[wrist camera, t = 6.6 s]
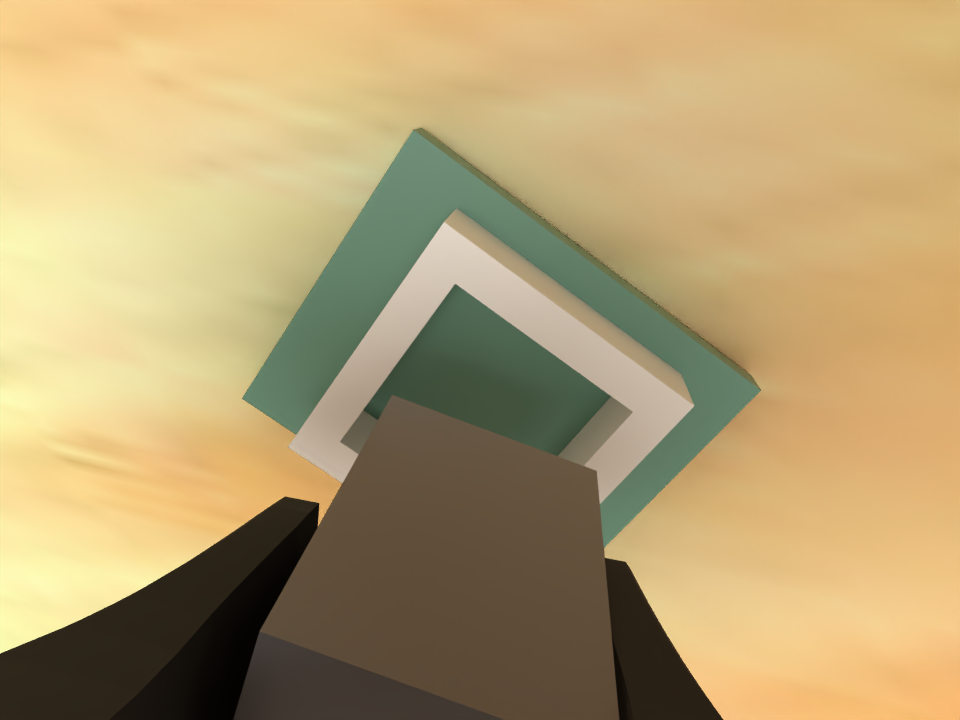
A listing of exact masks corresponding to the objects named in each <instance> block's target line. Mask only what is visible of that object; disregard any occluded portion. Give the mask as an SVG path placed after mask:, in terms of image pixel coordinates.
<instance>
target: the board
mask: <svg viewBox="0 0 960 720" xmlns="http://www.w3.org/2000/svg"><path fill="white" fill-rule="evenodd" d="M456 208H458V209H459V210H460V211H462V212H463V213H464V214H466V215H467V216H468V217H470V218H471V219H472V220H474V221H475V222H476V223H478V224H479V225H480V226H482V227H483V228H485V229H486V230H487V231H489V232H490V233H491V234H493V235H494V236H495V237H497V238H498V239H499V240H501V241H502V242H503V243H505V244H506V245H508V246H509V247H510V248H512V249H513V250H514V251H516V252H517V253H518V254H520V255H521V256H522V257H524V258H525V259H526V260H528V261H529V262H531V263H532V264H533V265H535V266H536V267H537V268H539V269H540V270H541V271H543V272H544V273H545V274H547V275H548V276H549V277H551V278H552V279H554V280H555V281H556V282H558V283H559V284H560V285H562V286H563V287H564V288H566V289H567V290H568V291H570V292H571V293H572V294H574V295H575V296H577V297H578V298H579V299H581V300H582V301H583V302H585V303H586V304H587V305H589V306H590V307H591V308H593V309H594V310H595V311H597V312H598V313H600V314H601V315H602V316H604V317H605V318H606V319H608V320H609V321H610V322H612V323H613V324H614V325H616V326H617V327H618V328H620V329H621V330H622V331H624V332H625V333H627V334H628V335H629V336H631V337H632V338H633V339H635V340H636V341H637V342H639V343H640V344H641V345H643V346H644V347H645V348H647V349H648V350H650V351H651V352H652V353H654V354H655V355H656V356H658V357H659V358H660V359H662V360H663V361H664V362H666V363H667V364H668V365H670V366H671V367H673V368H674V369H675V370H677V371H678V372H679V373H681V375H682V377H683V380H684V382H685V384H686V387H687V389H688V392H689V394H690V396H691V399H692V401H693V404H694V407H693V408H692V409H691V410H690V411H689V412H688V413H687V414H686V415H685V416H684V417H683V418H682V419H681V420H680V421H679V422H678V424H677V425H676V426H675V427H674V428H673V429H672V430H671V431H670V432H669V433H668V434H667V435H666V436H665V437H664V438H663V439H662V440H661V441H660V442H659V443H658V444H657V445H656V446H655V447H654V449H653V450H652V451H651V452H650V453H649V454H648V455H647V456H646V457H645V458H644V459H643V460H642V461H641V462H640V463H639V464H638V465H637V466H636V467H635V468H634V469H633V470H632V471H631V472H630V473H629V475H628V476H627V477H626V478H625V479H624V480H623V481H622V482H621V483H620V484H619V485H618V486H617V487H616V488H615V489H614V490H613V491H612V492H611V493H610V494H609V495H608V496H607V497H606V498H605V499H604V501H603V502H602V503H601V504H600V512H601V523H602V534H603V545H604V547H605V546H606V545H607V544H608V543H609V542H610V541H611V540H612V539H613V538H614V537H615V536H616V535H617V534H618V533H619V532H620V531H621V530H622V529H623V528H624V527H625V526H626V525H627V524H628V523H629V522H630V521H631V520H632V519H633V518H634V517H635V516H636V515H637V514H638V513H639V512H640V511H641V510H642V509H643V508H644V507H645V506H646V505H647V504H648V503H649V502H650V501H651V500H652V499H653V498H654V497H655V496H656V495H657V494H658V493H659V492H660V491H661V490H662V489H663V488H664V487H665V486H666V485H667V484H668V483H669V482H670V481H671V480H672V479H673V478H674V477H675V476H676V475H677V474H678V473H679V472H680V471H681V470H682V469H683V468H684V467H685V466H686V465H687V464H688V463H689V462H690V461H691V460H692V459H693V458H694V457H695V456H696V455H697V454H698V453H699V452H700V451H701V450H702V449H703V448H704V447H705V446H706V445H707V444H708V443H709V442H710V441H711V440H712V439H713V438H714V437H715V436H716V435H717V434H718V433H719V432H720V431H721V430H722V429H723V428H724V427H725V426H726V425H727V424H728V423H729V422H730V421H731V420H732V419H733V418H734V417H735V416H736V415H737V414H738V413H739V412H740V411H741V410H742V409H743V408H744V407H745V406H746V405H747V404H748V403H749V402H750V401H751V400H752V399H753V398H754V397H755V396H756V395H757V394H758V393H759V392H760V391H761V389H760V388H759V386H758V385H757V383H756V382H755V380H754V379H753V377H752V376H751V375H750V374H748V373H747V372H746V371H744V370H743V369H742V368H740V367H739V366H738V365H736V364H735V363H734V362H732V361H731V360H730V359H728V358H727V357H726V356H724V355H723V354H722V353H720V352H719V351H718V350H717V349H715V348H714V347H713V346H711V345H710V344H709V343H707V342H706V341H705V340H703V339H702V338H701V337H699V336H698V335H697V334H695V333H694V332H693V331H691V330H690V329H689V328H687V327H686V326H685V325H683V324H682V323H681V322H679V321H678V320H677V319H675V318H674V317H673V316H671V315H670V314H669V313H667V312H666V311H665V310H663V309H662V308H661V307H659V306H658V305H657V304H655V303H654V302H653V301H651V300H650V299H649V298H647V297H646V296H645V295H643V294H642V293H641V292H639V291H638V290H637V289H635V288H634V287H633V286H631V285H630V284H629V283H627V282H626V281H625V280H623V279H622V278H621V277H619V276H618V275H617V274H615V273H614V272H613V271H611V270H610V269H609V268H607V267H606V266H605V265H603V264H602V263H601V262H599V261H598V260H597V259H595V258H594V257H593V256H591V255H590V254H589V253H587V252H586V251H585V250H583V249H582V248H581V247H579V246H578V245H577V244H575V243H574V242H573V241H571V240H570V239H569V238H567V237H566V236H565V235H563V234H562V233H561V232H559V231H558V230H557V229H555V228H554V227H553V226H551V225H550V224H549V223H547V222H546V221H545V220H543V219H542V218H541V217H539V216H538V215H537V214H535V213H534V212H533V211H531V210H530V209H529V208H527V207H526V206H525V205H524V204H522V203H521V202H520V201H518V200H517V199H516V198H514V197H513V196H512V195H510V194H509V193H508V192H506V191H505V190H504V189H502V188H501V187H500V186H498V185H497V184H496V183H494V182H493V181H492V180H490V179H489V178H488V177H486V176H485V175H484V174H482V173H481V172H480V171H478V170H477V169H476V168H474V167H473V166H472V165H470V164H469V163H468V162H466V161H465V160H464V159H462V158H461V157H460V156H458V155H457V154H456V153H454V152H453V151H452V150H450V149H449V148H448V147H446V146H445V145H444V144H442V143H441V142H440V141H438V140H437V139H436V138H434V137H433V136H432V135H430V134H429V133H428V132H426V131H425V130H424V129H422V128H418V129H415V130H413V131H412V133H411V134H410V136H409V138H408V139H407V141H406V142H405V144H404V145H403V147H402V149H401V150H400V152H399V153H398V155H397V156H396V158H395V160H394V161H393V163H392V164H391V166H390V167H389V169H388V171H387V172H386V174H385V175H384V177H383V178H382V180H381V182H380V183H379V185H378V186H377V188H376V189H375V191H374V192H373V194H372V196H371V197H370V199H369V200H368V202H367V203H366V205H365V207H364V208H363V210H362V211H361V213H360V214H359V216H358V218H357V219H356V221H355V222H354V224H353V225H352V227H351V229H350V230H349V232H348V233H347V235H346V236H345V238H344V240H343V241H342V243H341V244H340V246H339V247H338V249H337V251H336V252H335V254H334V255H333V257H332V258H331V260H330V261H329V263H328V265H327V266H326V268H325V269H324V271H323V272H322V274H321V276H320V277H319V279H318V280H317V282H316V283H315V285H314V287H313V288H312V290H311V291H310V293H309V294H308V296H307V298H306V299H305V301H304V302H303V304H302V305H301V307H300V309H299V310H298V312H297V313H296V315H295V316H294V318H293V319H292V321H291V323H290V324H289V326H288V327H287V329H286V330H285V332H284V334H283V335H282V337H281V338H280V340H279V341H278V343H277V345H276V346H275V348H274V349H273V351H272V352H271V354H270V356H269V357H268V359H267V360H266V362H265V363H264V365H263V367H262V368H261V370H260V371H259V373H258V374H257V376H256V378H255V379H254V381H253V382H252V384H251V385H250V387H249V388H248V390H247V392H246V393H245V395H244V396H243V398H242V399H243V400H245V401H246V402H248V403H249V404H251V405H252V406H254V407H255V408H257V409H258V410H260V411H261V412H263V413H264V414H266V415H267V416H269V417H270V418H272V419H273V420H275V421H276V422H278V423H279V424H281V425H282V426H284V427H285V428H287V429H288V430H290V431H291V432H293V433H294V434H296V435H297V433H298V432H299V430H300V429H301V427H302V426H303V425H304V423H305V422H306V420H307V419H308V417H309V416H310V414H311V413H312V412H313V410H314V409H315V407H316V406H317V404H318V403H319V401H320V400H321V399H322V397H323V396H324V394H325V393H326V391H327V390H328V388H329V387H330V386H331V384H332V383H333V381H334V380H335V378H336V377H337V376H338V374H339V373H340V371H341V370H342V368H343V367H344V365H345V364H346V363H347V361H348V360H349V358H350V357H351V355H352V354H353V352H354V351H355V350H356V348H357V347H358V345H359V344H360V342H361V341H362V339H363V338H364V337H365V335H366V334H367V332H368V331H369V329H370V328H371V326H372V325H373V324H374V322H375V321H376V319H377V318H378V316H379V315H380V314H381V312H382V311H383V309H384V308H385V306H386V305H387V303H388V302H389V301H390V299H391V298H392V296H393V295H394V293H395V292H396V290H397V289H398V288H399V286H400V285H401V283H402V282H403V280H404V279H405V277H406V276H407V275H408V273H409V272H410V270H411V269H412V267H413V266H414V264H415V263H416V262H417V260H418V259H419V257H420V256H421V254H422V253H423V252H424V250H425V249H426V247H427V246H428V244H429V243H430V241H431V240H432V239H433V237H434V236H435V234H436V233H437V231H438V230H439V228H440V227H441V226H442V224H443V223H444V221H445V220H446V219H447V218H448V217H449V216H450V215H451V214H452V213H453V211H454V210H455V209H456ZM392 395H394V396H396V397H399V398H402V399H404V400H407V401H410V402H412V403H415V404H418V405H420V406H423V407H426V408H429V409H431V410H434V411H437V412H439V413H442V414H445V415H447V416H450V417H453V418H456V419H458V420H461V421H464V422H466V423H469V424H472V425H474V426H477V427H480V428H483V429H485V430H488V431H491V432H493V433H496V434H499V435H501V436H504V437H507V438H509V439H512V440H515V441H518V442H520V443H523V444H526V445H528V446H531V447H534V448H536V449H539V450H542V451H545V452H547V453H550V454H553V455H555V456H558V455H559V454H560V453H561V452H562V451H563V450H564V449H565V447H566V446H567V445H568V444H569V443H570V442H571V441H572V440H573V438H574V437H575V436H576V435H577V434H578V433H579V432H580V431H581V430H582V428H583V427H584V426H585V425H586V424H587V423H588V422H589V421H590V419H591V418H592V417H593V416H594V415H595V414H596V413H597V412H598V411H599V409H600V408H601V407H602V406H603V405H604V404H605V403H606V402H607V401H608V399H609V398H610V397H611V396H610V395H609V394H607V393H606V392H605V391H603V390H602V389H601V388H599V387H598V386H596V385H595V384H594V383H592V382H591V381H589V380H588V379H587V378H585V377H584V376H583V375H581V374H580V373H578V372H577V371H576V370H574V369H573V368H571V367H570V366H569V365H567V364H566V363H565V362H563V361H562V360H560V359H559V358H558V357H556V356H555V355H553V354H552V353H551V352H549V351H548V350H547V349H545V348H544V347H542V346H541V345H540V344H538V343H537V342H535V341H534V340H533V339H531V338H530V337H529V336H527V335H526V334H524V333H523V332H522V331H520V330H519V329H517V328H516V327H515V326H513V325H512V324H511V323H509V322H508V321H506V320H505V319H504V318H502V317H501V316H499V315H498V314H497V313H495V312H494V311H493V310H491V309H490V308H488V307H487V306H486V305H484V304H483V303H481V302H480V301H479V300H477V299H476V298H475V297H473V296H472V295H470V294H469V293H468V292H466V291H465V290H463V289H462V288H461V287H459V286H458V285H457V284H455V285H454V286H453V287H452V289H451V290H450V291H449V293H448V294H447V295H446V297H445V298H444V300H443V301H442V302H441V304H440V305H439V306H438V308H437V309H436V311H435V312H434V313H433V315H432V316H431V317H430V319H429V320H428V322H427V323H426V324H425V326H424V327H423V328H422V330H421V331H420V333H419V334H418V335H417V337H416V338H415V339H414V341H413V342H412V344H411V345H410V346H409V348H408V349H407V350H406V352H405V353H404V354H403V356H402V357H401V359H400V360H399V361H398V363H397V364H396V365H395V367H394V368H393V370H392V371H391V372H390V374H389V375H388V376H387V378H386V379H385V381H384V382H383V383H382V385H381V386H380V387H379V389H378V390H377V392H376V393H375V394H374V396H373V397H372V398H371V400H370V401H369V403H368V404H367V405H366V407H365V408H364V409H363V410H364V411H365V412H367V413H368V414H369V415H371V416H372V417H374V418H375V419H377V420H378V419H379V417H380V416H381V414H382V412H383V410H384V408H385V407H386V405H387V403H388V401H389V399H390V398H391V396H392Z"/></svg>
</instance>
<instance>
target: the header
mask: <svg viewBox="0 0 960 720" xmlns="http://www.w3.org/2000/svg"><path fill="white" fill-rule="evenodd" d="M455 284H457V285H458V286H459V287H461V288H462V289H463V290H465V291H466V292H468V293H469V294H470V295H472V296H473V297H475V298H476V299H477V300H479V301H480V302H481V303H483V304H484V305H486V306H487V307H488V308H490V309H491V310H493V311H494V312H495V313H497V314H498V315H499V316H501V317H502V318H504V319H505V320H506V321H508V322H509V323H511V324H512V325H513V326H515V327H516V328H517V329H519V330H520V331H522V332H523V333H524V334H526V335H527V336H529V337H530V338H531V339H533V340H534V341H535V342H537V343H538V344H540V345H541V346H542V347H544V348H545V349H547V350H548V351H549V352H551V353H552V354H553V355H555V356H556V357H558V358H559V359H560V360H562V361H563V362H565V363H566V364H567V365H569V366H570V367H571V368H573V369H574V370H576V371H577V372H578V373H580V374H581V375H583V376H584V377H585V378H587V379H588V380H589V381H591V382H592V383H594V384H595V385H596V386H598V387H599V388H601V389H602V390H603V391H605V392H606V393H607V394H609V395H610V396H611V397H610V398H609V399H608V401H607V402H606V403H605V404H604V405H603V406H602V407H601V408H600V409H599V411H598V412H597V413H596V414H595V415H594V416H593V417H592V418H591V419H590V421H589V422H588V423H587V424H586V425H585V426H584V427H583V428H582V430H581V431H580V432H579V433H578V434H577V435H576V436H575V437H574V438H573V440H572V441H571V442H570V443H569V444H568V445H567V446H566V447H565V449H564V450H563V451H562V452H561V453H560V454H559V455H558V457H561V458H563V459H566V460H569V461H572V462H574V463H577V464H580V465H582V466H585V467H588V468H590V469H593V470H596V471H597V479H598V490H599V501H600V504H601V503H602V502H603V501H604V499H605V498H606V497H607V496H608V495H609V494H610V493H611V492H612V491H613V490H614V489H615V488H616V487H617V486H618V485H619V484H620V483H621V482H622V481H623V480H624V479H625V478H626V477H627V476H628V475H629V473H630V472H631V471H632V470H633V469H634V468H635V467H636V466H637V465H638V464H639V463H640V462H641V461H642V460H643V459H644V458H645V457H646V456H647V455H648V454H649V453H650V452H651V451H652V450H653V449H654V447H655V446H656V445H657V444H658V443H659V442H660V441H661V440H662V439H663V438H664V437H665V436H666V435H667V434H668V433H669V432H670V431H671V430H672V429H673V428H674V427H675V426H676V425H677V424H678V422H679V421H680V420H681V419H682V418H683V417H684V416H685V415H686V414H687V413H688V412H689V411H690V410H691V409H692V408H693V407H694V404H693V401H692V399H691V396H690V394H689V392H688V389H687V387H686V384H685V382H684V380H683V377H682V375H681V373H679V372H678V371H677V370H675V369H674V368H673V367H671V366H670V365H668V364H667V363H666V362H664V361H663V360H662V359H660V358H659V357H658V356H656V355H655V354H654V353H652V352H651V351H650V350H648V349H647V348H645V347H644V346H643V345H641V344H640V343H639V342H637V341H636V340H635V339H633V338H632V337H631V336H629V335H628V334H627V333H625V332H624V331H622V330H621V329H620V328H618V327H617V326H616V325H614V324H613V323H612V322H610V321H609V320H608V319H606V318H605V317H604V316H602V315H601V314H600V313H598V312H597V311H595V310H594V309H593V308H591V307H590V306H589V305H587V304H586V303H585V302H583V301H582V300H581V299H579V298H578V297H577V296H575V295H574V294H572V293H571V292H570V291H568V290H567V289H566V288H564V287H563V286H562V285H560V284H559V283H558V282H556V281H555V280H554V279H552V278H551V277H549V276H548V275H547V274H545V273H544V272H543V271H541V270H540V269H539V268H537V267H536V266H535V265H533V264H532V263H531V262H529V261H528V260H526V259H525V258H524V257H522V256H521V255H520V254H518V253H517V252H516V251H514V250H513V249H512V248H510V247H509V246H508V245H506V244H505V243H503V242H502V241H501V240H499V239H498V238H497V237H495V236H494V235H493V234H491V233H490V232H489V231H487V230H486V229H485V228H483V227H482V226H480V225H479V224H478V223H476V222H475V221H474V220H472V219H471V218H470V217H468V216H467V215H466V214H464V213H463V212H462V211H460V210H459V209H458V208H456V209H455V210H454V211H453V213H452V214H451V215H450V216H449V217H448V218H447V219H446V220H445V221H444V223H443V224H442V226H441V227H440V228H439V230H438V231H437V233H436V234H435V236H434V237H433V239H432V240H431V241H430V243H429V244H428V246H427V247H426V249H425V250H424V252H423V253H422V254H421V256H420V257H419V259H418V260H417V262H416V263H415V264H414V266H413V267H412V269H411V270H410V272H409V273H408V275H407V276H406V277H405V279H404V280H403V282H402V283H401V285H400V286H399V288H398V289H397V290H396V292H395V293H394V295H393V296H392V298H391V299H390V301H389V302H388V303H387V305H386V306H385V308H384V309H383V311H382V312H381V314H380V315H379V316H378V318H377V319H376V321H375V322H374V324H373V325H372V326H371V328H370V329H369V331H368V332H367V334H366V335H365V337H364V338H363V339H362V341H361V342H360V344H359V345H358V347H357V348H356V350H355V351H354V352H353V354H352V355H351V357H350V358H349V360H348V361H347V363H346V364H345V365H344V367H343V368H342V370H341V371H340V373H339V374H338V376H337V377H336V378H335V380H334V381H333V383H332V384H331V386H330V387H329V388H328V390H327V391H326V393H325V394H324V396H323V397H322V399H321V400H320V401H319V403H318V404H317V406H316V407H315V409H314V410H313V412H312V413H311V414H310V416H309V417H308V419H307V420H306V422H305V423H304V425H303V426H302V427H301V429H300V430H299V432H298V433H297V435H296V436H295V437H294V439H293V440H292V442H291V443H290V445H289V446H288V448H290V449H291V450H293V451H294V452H296V453H297V454H299V455H300V456H302V457H303V458H305V459H307V460H308V461H310V462H311V463H313V464H314V465H316V466H317V467H319V468H320V469H322V470H323V471H325V472H326V473H328V474H329V475H331V476H332V477H334V478H335V479H337V480H338V481H340V482H341V483H343V482H344V480H345V478H346V476H347V474H348V473H349V471H350V469H351V467H352V465H353V464H354V462H355V460H356V458H357V457H358V455H359V453H360V451H361V449H362V448H363V446H364V444H365V442H366V440H367V439H368V437H369V435H370V433H371V432H372V430H373V428H374V426H375V424H376V423H377V421H378V420H377V419H375V418H374V417H372V416H371V415H369V414H368V413H367V412H365V411H364V410H363V409H364V408H365V407H366V405H367V404H368V403H369V401H370V400H371V398H372V397H373V396H374V394H375V393H376V392H377V390H378V389H379V387H380V386H381V385H382V383H383V382H384V381H385V379H386V378H387V376H388V375H389V374H390V372H391V371H392V370H393V368H394V367H395V365H396V364H397V363H398V361H399V360H400V359H401V357H402V356H403V354H404V353H405V352H406V350H407V349H408V348H409V346H410V345H411V344H412V342H413V341H414V339H415V338H416V337H417V335H418V334H419V333H420V331H421V330H422V328H423V327H424V326H425V324H426V323H427V322H428V320H429V319H430V317H431V316H432V315H433V313H434V312H435V311H436V309H437V308H438V306H439V305H440V304H441V302H442V301H443V300H444V298H445V297H446V295H447V294H448V293H449V291H450V290H451V289H452V287H453V286H454V285H455Z"/></svg>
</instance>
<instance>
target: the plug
mask: <svg viewBox="0 0 960 720" xmlns="http://www.w3.org/2000/svg"><path fill="white" fill-rule="evenodd" d="M233 720H619V712H618V701H617V690H616V679H615V667H614V656H613V645H612V634H611V623H610V612H609V601H608V590H607V579H606V567H605V556H604V545H603V534H602V523H601V512H600V501H599V490H598V479H597V471H596V470H593V469H590V468H588V467H585V466H582V465H580V464H577V463H574V462H572V461H569V460H566V459H563V458H561V457H558V456H555V455H553V454H550V453H547V452H545V451H542V450H539V449H536V448H534V447H531V446H528V445H526V444H523V443H520V442H518V441H515V440H512V439H509V438H507V437H504V436H501V435H499V434H496V433H493V432H491V431H488V430H485V429H483V428H480V427H477V426H474V425H472V424H469V423H466V422H464V421H461V420H458V419H456V418H453V417H450V416H447V415H445V414H442V413H439V412H437V411H434V410H431V409H429V408H426V407H423V406H420V405H418V404H415V403H412V402H410V401H407V400H404V399H402V398H399V397H396V396H394V395H392V396H391V398H390V399H389V401H388V403H387V405H386V407H385V408H384V410H383V412H382V414H381V416H380V417H379V419H378V421H377V423H376V424H375V426H374V428H373V430H372V432H371V433H370V435H369V437H368V439H367V440H366V442H365V444H364V446H363V448H362V449H361V451H360V453H359V455H358V457H357V458H356V460H355V462H354V464H353V465H352V467H351V469H350V471H349V473H348V474H347V476H346V478H345V480H344V482H343V483H342V485H341V487H340V489H339V490H338V492H337V494H336V496H335V498H334V499H333V501H332V503H331V505H330V507H329V508H328V510H327V512H326V514H325V515H324V517H323V519H322V521H321V523H320V524H319V526H318V528H317V530H316V532H315V533H314V535H313V537H312V539H311V540H310V542H309V544H308V546H307V548H306V549H305V551H304V553H303V555H302V557H301V558H300V560H299V562H298V564H297V565H296V567H295V569H294V571H293V573H292V574H291V576H290V578H289V580H288V581H287V583H286V585H285V587H284V589H283V590H282V592H281V594H280V596H279V598H278V599H277V601H276V603H275V605H274V606H273V608H272V610H271V612H270V614H269V615H268V617H267V619H266V621H265V623H264V624H263V626H262V628H261V630H260V632H259V635H258V638H257V642H256V645H255V648H254V652H253V655H252V658H251V662H250V665H249V668H248V672H247V675H246V678H245V682H244V685H243V689H242V692H241V695H240V699H239V702H238V705H237V709H236V712H235V715H234V719H233Z"/></svg>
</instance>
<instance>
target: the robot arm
mask: <svg viewBox="0 0 960 720" xmlns="http://www.w3.org/2000/svg"><path fill="white" fill-rule="evenodd" d="M318 514H319V503H316V502H310V501H305V500H300V499H295V498H289V497H284V498H282V499H281V500H279V501H278V502H276V503H275V504H273V505H272V506H270V507H268V508H267V509H266V510H264V511H263V512H261V513H260V514H258V515H257V516H255V517H254V518H253V519H251V520H250V521H248V522H247V523H245V524H244V525H242V526H241V527H240V528H238V529H237V530H235V531H234V532H232V533H231V534H229V535H228V536H226V537H225V538H223V539H222V540H220V541H219V542H217V543H216V544H214V545H213V546H211V547H210V548H208V549H207V550H205V551H204V552H202V553H200V554H199V555H197V556H196V557H194V558H193V559H191V560H190V561H188V562H187V563H185V564H183V565H182V566H180V567H178V568H176V569H175V570H173V571H171V572H170V573H168V574H166V575H165V576H163V577H161V578H160V579H158V580H156V581H154V582H153V583H151V584H149V585H148V586H146V587H144V588H143V589H141V590H139V591H137V592H135V593H133V594H132V595H130V596H128V597H126V598H124V599H122V600H120V601H118V602H116V603H114V604H112V605H110V606H108V607H106V608H104V609H102V610H100V611H98V612H96V613H94V614H92V615H90V616H88V617H85V618H83V619H81V620H79V621H77V622H75V623H73V624H70V625H68V626H66V627H64V628H61V629H59V630H56V631H54V632H52V633H49V634H47V635H44V636H42V637H39V638H37V639H35V640H32V641H30V642H27V643H25V644H22V645H20V646H18V647H15V648H13V649H10V650H8V651H5V652H3V653H1V654H0V720H233V719H234V715H235V712H236V709H237V705H238V702H239V699H240V695H241V692H242V689H243V685H244V682H245V678H246V675H247V672H248V668H249V665H250V662H251V658H252V655H253V652H254V648H255V645H256V642H257V638H258V635H259V632H260V630H261V628H262V626H263V624H264V623H265V621H266V619H267V617H268V615H269V614H270V612H271V610H272V608H273V606H274V605H275V603H276V601H277V599H278V598H279V596H280V594H281V592H282V590H283V589H284V587H285V585H286V583H287V581H288V580H289V578H290V576H291V574H292V573H293V571H294V569H295V567H296V565H297V564H298V562H299V560H300V558H301V557H302V555H303V553H304V551H305V549H306V548H307V546H308V544H309V542H310V540H311V539H312V537H313V535H314V533H315V532H316V530H317V528H318ZM605 567H606V579H607V590H608V601H609V612H610V623H611V634H612V645H613V656H614V667H615V679H616V690H617V701H618V712H619V720H723V719H722V717H721V716H720V715H719V713H718V712H717V710H716V709H715V708H714V706H713V705H712V703H711V702H710V701H709V699H708V698H707V696H706V695H705V693H704V692H703V690H702V689H701V688H700V686H699V685H698V683H697V682H696V680H695V679H694V677H693V676H692V674H691V673H690V671H689V670H688V668H687V667H686V665H685V663H684V662H683V660H682V659H681V657H680V655H679V654H678V652H677V651H676V649H675V647H674V646H673V644H672V642H671V641H670V639H669V638H668V636H667V634H666V633H665V631H664V629H663V628H662V626H661V624H660V622H659V621H658V619H657V617H656V615H655V614H654V612H653V610H652V608H651V607H650V605H649V603H648V601H647V599H646V597H645V596H644V594H643V592H642V590H641V588H640V586H639V584H638V583H637V581H636V579H635V577H634V575H633V573H632V571H631V569H630V568H629V566H628V565H627V563H626V562H623V561H618V560H613V559H607V558H605Z"/></svg>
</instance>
